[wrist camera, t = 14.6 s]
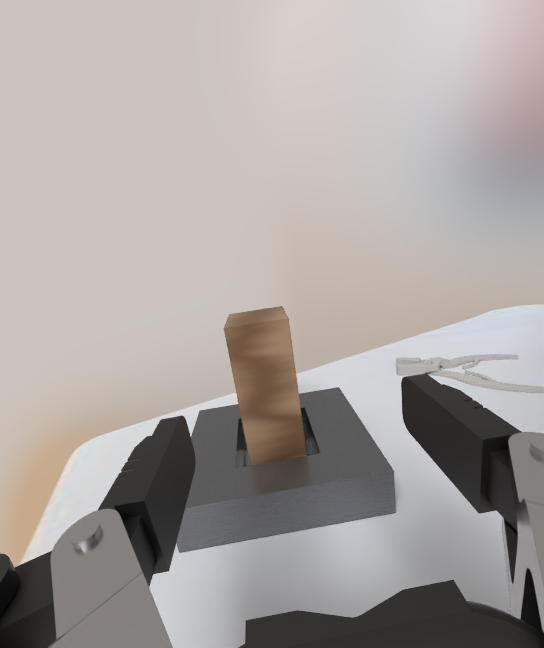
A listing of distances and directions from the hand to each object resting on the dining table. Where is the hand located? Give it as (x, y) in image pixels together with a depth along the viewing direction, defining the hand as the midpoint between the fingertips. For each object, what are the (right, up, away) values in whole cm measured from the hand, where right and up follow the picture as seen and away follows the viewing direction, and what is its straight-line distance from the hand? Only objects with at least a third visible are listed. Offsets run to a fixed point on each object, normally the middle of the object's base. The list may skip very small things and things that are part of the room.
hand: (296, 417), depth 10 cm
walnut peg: (0, -9, +15) cm, 18 cm away
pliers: (+24, -3, +27) cm, 36 cm away
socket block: (0, -9, +15) cm, 18 cm away
